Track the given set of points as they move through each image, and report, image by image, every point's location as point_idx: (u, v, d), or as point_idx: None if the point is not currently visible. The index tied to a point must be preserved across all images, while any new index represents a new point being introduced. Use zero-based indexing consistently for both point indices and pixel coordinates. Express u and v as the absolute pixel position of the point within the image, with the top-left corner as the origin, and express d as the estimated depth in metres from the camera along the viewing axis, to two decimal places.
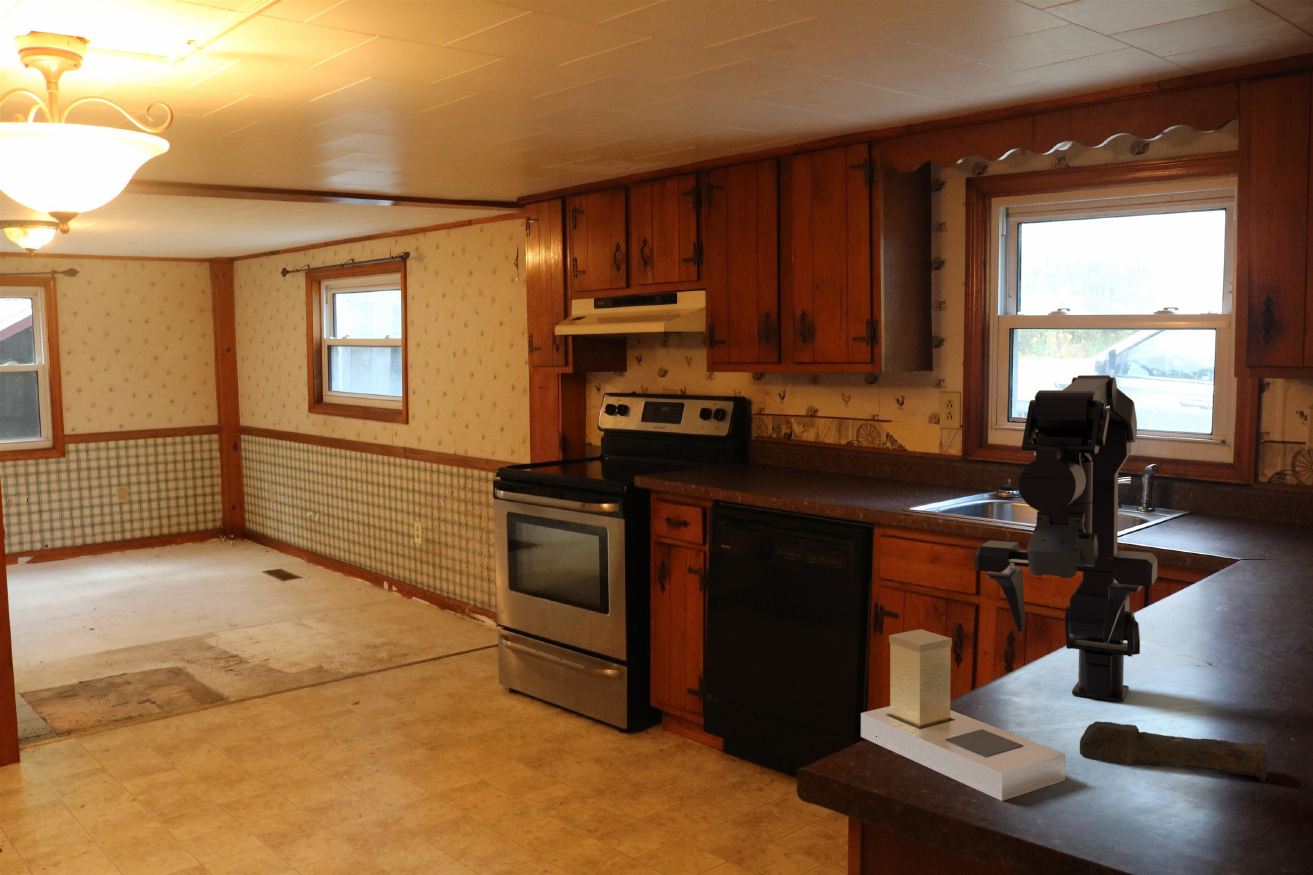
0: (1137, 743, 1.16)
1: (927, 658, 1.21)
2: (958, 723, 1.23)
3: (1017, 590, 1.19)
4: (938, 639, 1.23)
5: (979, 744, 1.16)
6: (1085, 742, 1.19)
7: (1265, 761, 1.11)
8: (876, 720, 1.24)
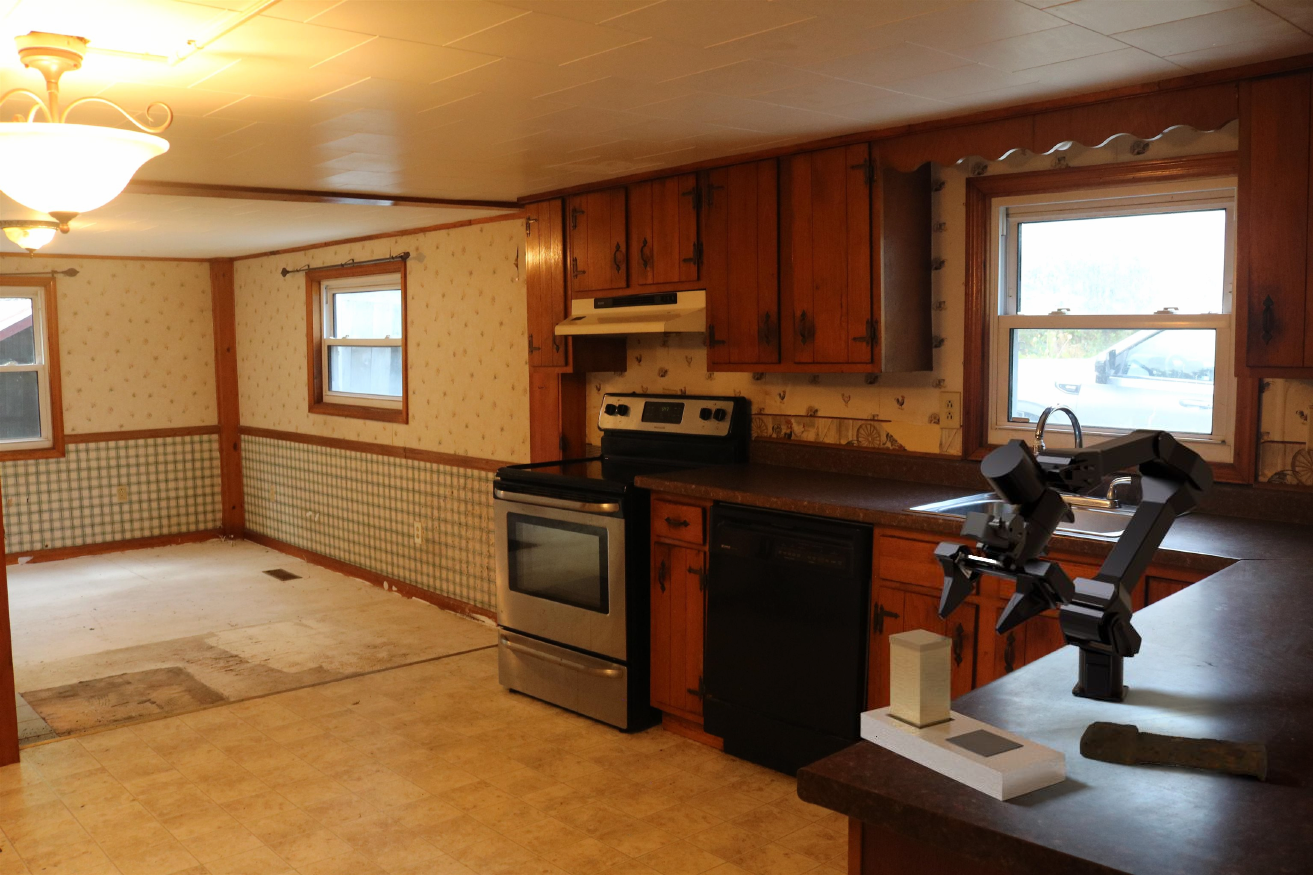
0: (1137, 743, 1.16)
1: (927, 658, 1.21)
2: (958, 723, 1.23)
3: (955, 582, 1.33)
4: (938, 639, 1.23)
5: (979, 744, 1.16)
6: (1085, 742, 1.19)
7: (1265, 760, 1.11)
8: (876, 720, 1.24)
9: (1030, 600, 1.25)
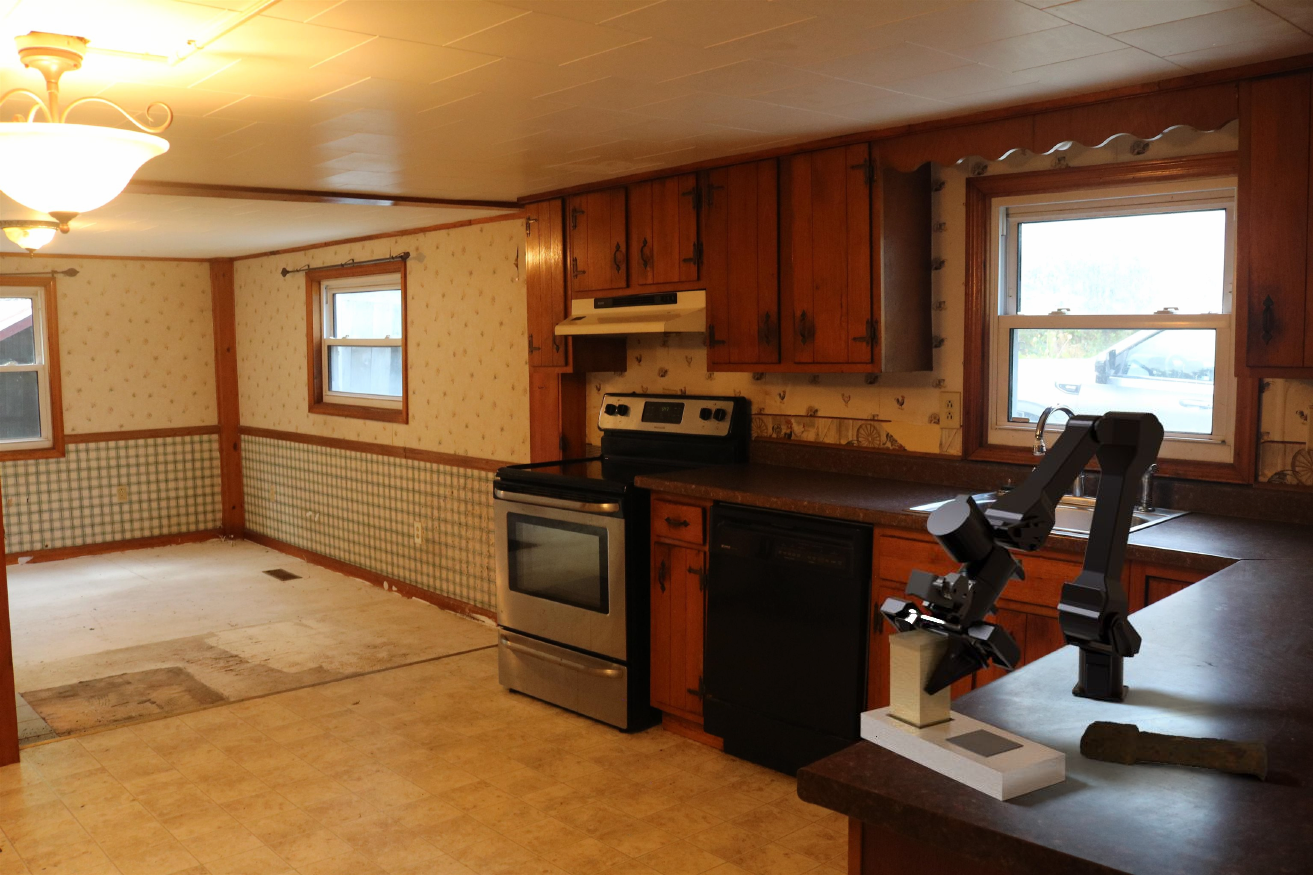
0: (1137, 743, 1.16)
1: (927, 657, 1.21)
2: (958, 723, 1.23)
3: None
4: (938, 639, 1.23)
5: (979, 744, 1.16)
6: (1085, 742, 1.19)
7: (1265, 759, 1.12)
8: (876, 720, 1.24)
9: (961, 660, 1.22)
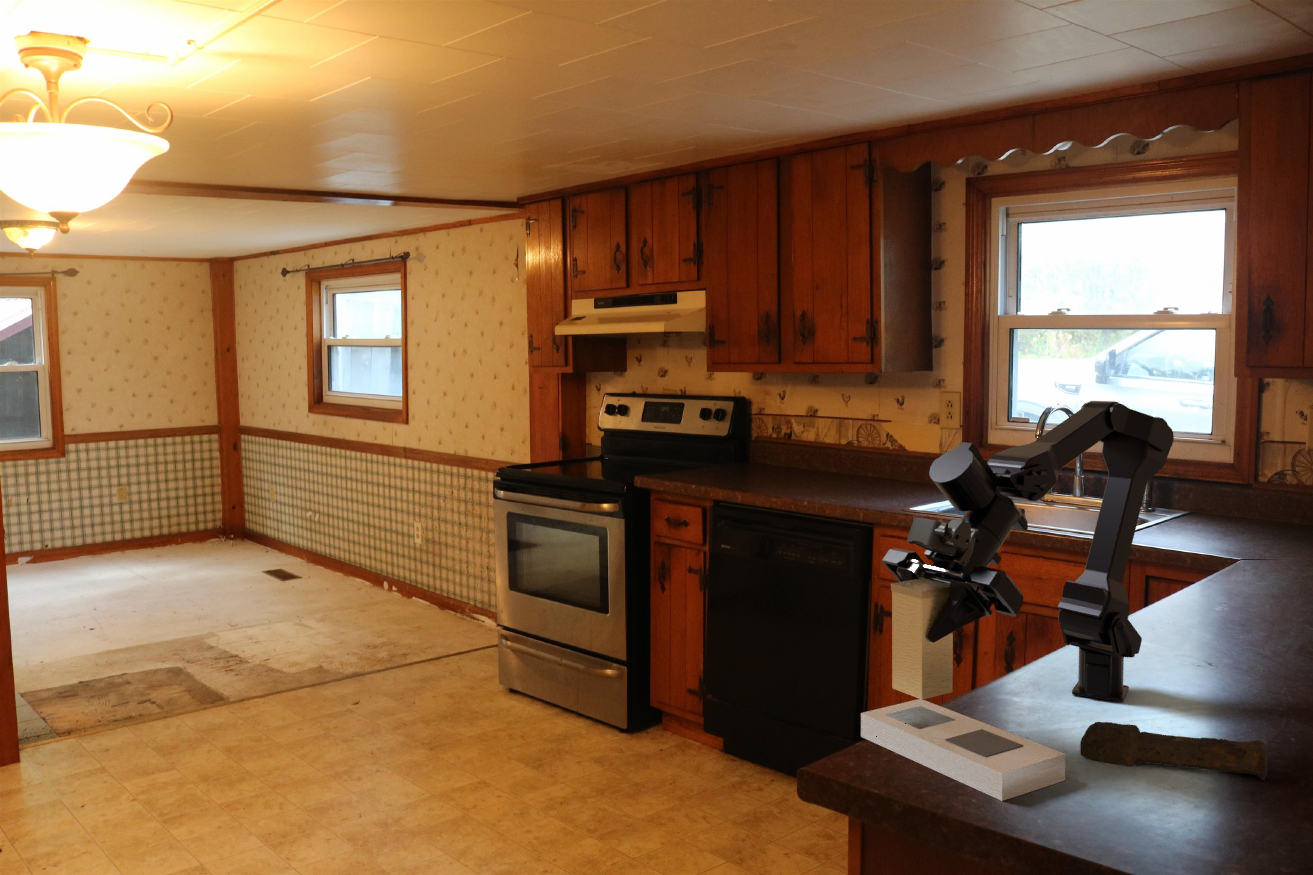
0: (1138, 743, 1.16)
1: (929, 604, 1.21)
2: (958, 723, 1.23)
3: None
4: (940, 586, 1.22)
5: (979, 744, 1.16)
6: (1086, 743, 1.19)
7: (1266, 759, 1.12)
8: (876, 720, 1.24)
9: (964, 607, 1.22)
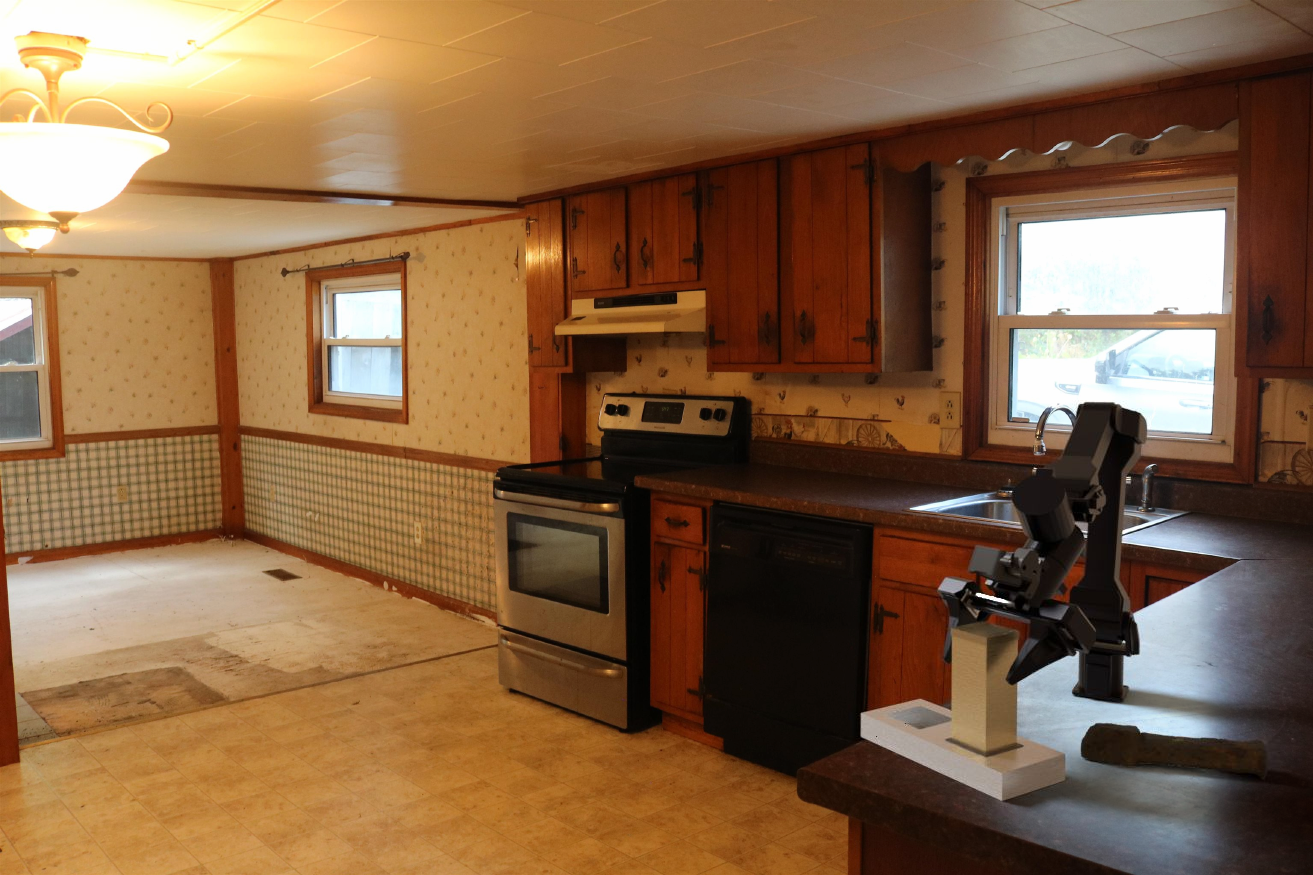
0: (1138, 744, 1.16)
1: (994, 651, 1.13)
2: None
3: (962, 623, 1.20)
4: (1005, 632, 1.14)
5: None
6: (1087, 744, 1.18)
7: (1266, 758, 1.12)
8: (876, 720, 1.24)
9: (1045, 646, 1.12)
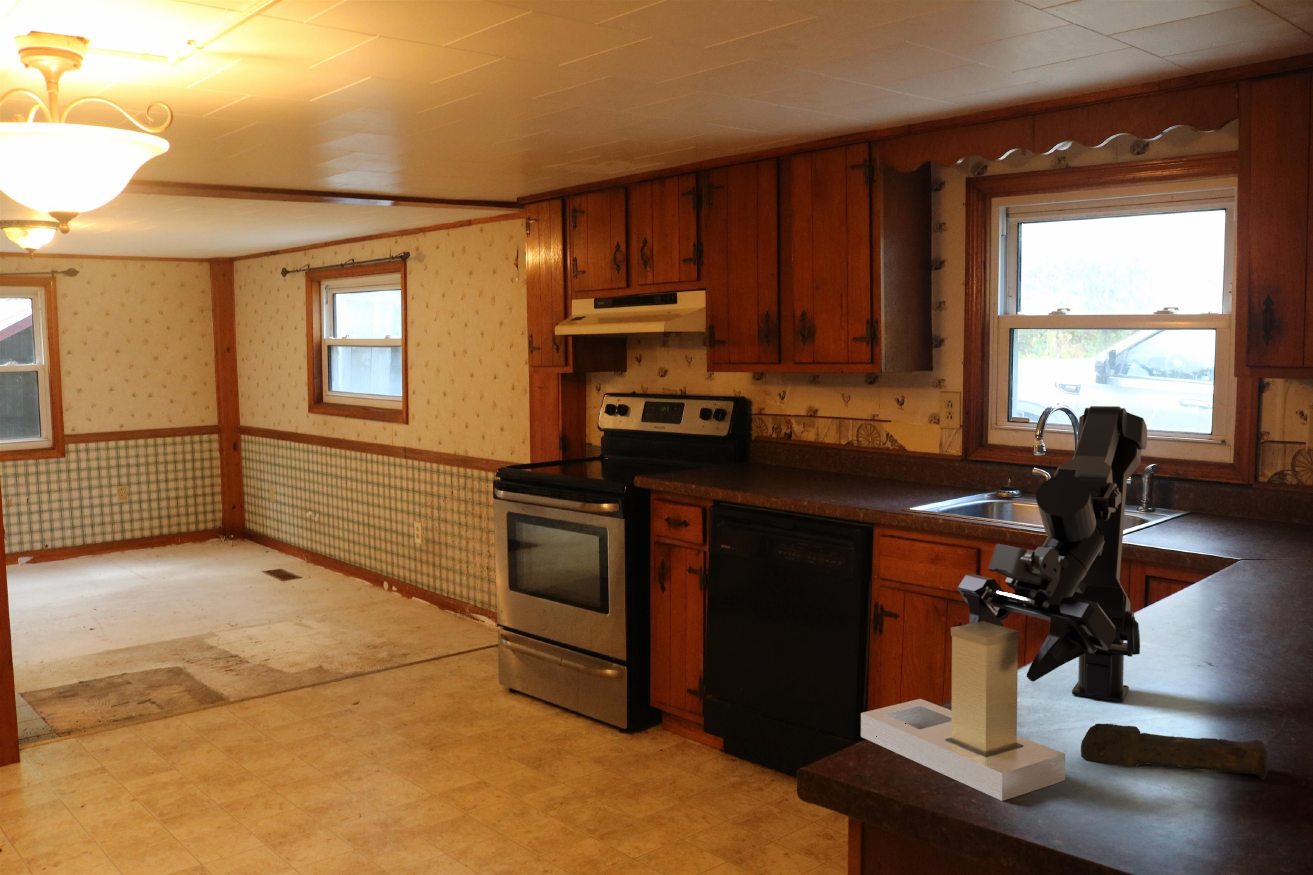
0: (1139, 745, 1.16)
1: (994, 651, 1.13)
2: None
3: (982, 620, 1.22)
4: (1005, 632, 1.14)
5: None
6: (1087, 745, 1.18)
7: (1266, 759, 1.12)
8: (876, 720, 1.24)
9: (1065, 643, 1.14)
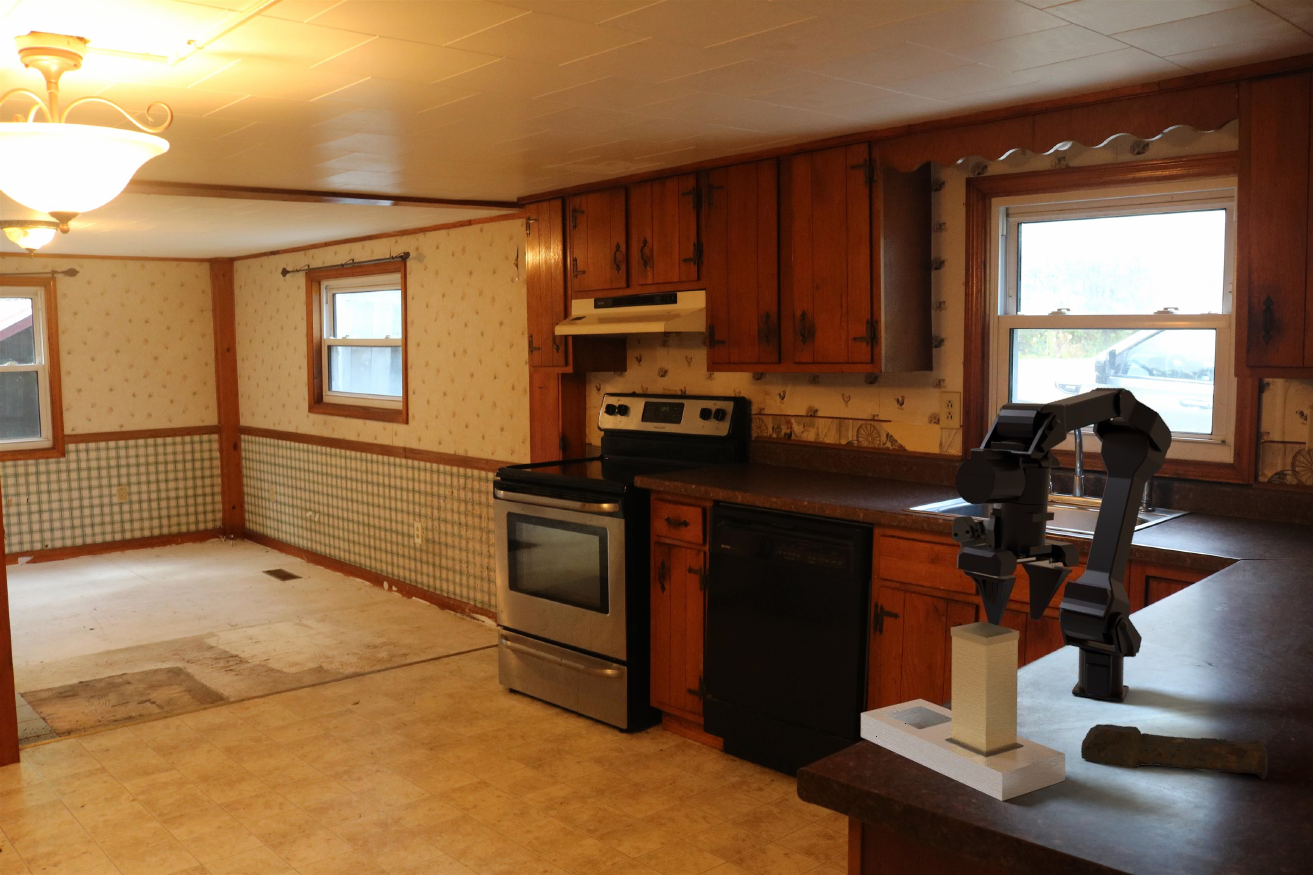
0: (1139, 745, 1.16)
1: (994, 651, 1.13)
2: None
3: (1034, 580, 1.34)
4: (1005, 632, 1.14)
5: None
6: (1087, 746, 1.18)
7: (1266, 759, 1.12)
8: (876, 720, 1.24)
9: (994, 584, 1.26)
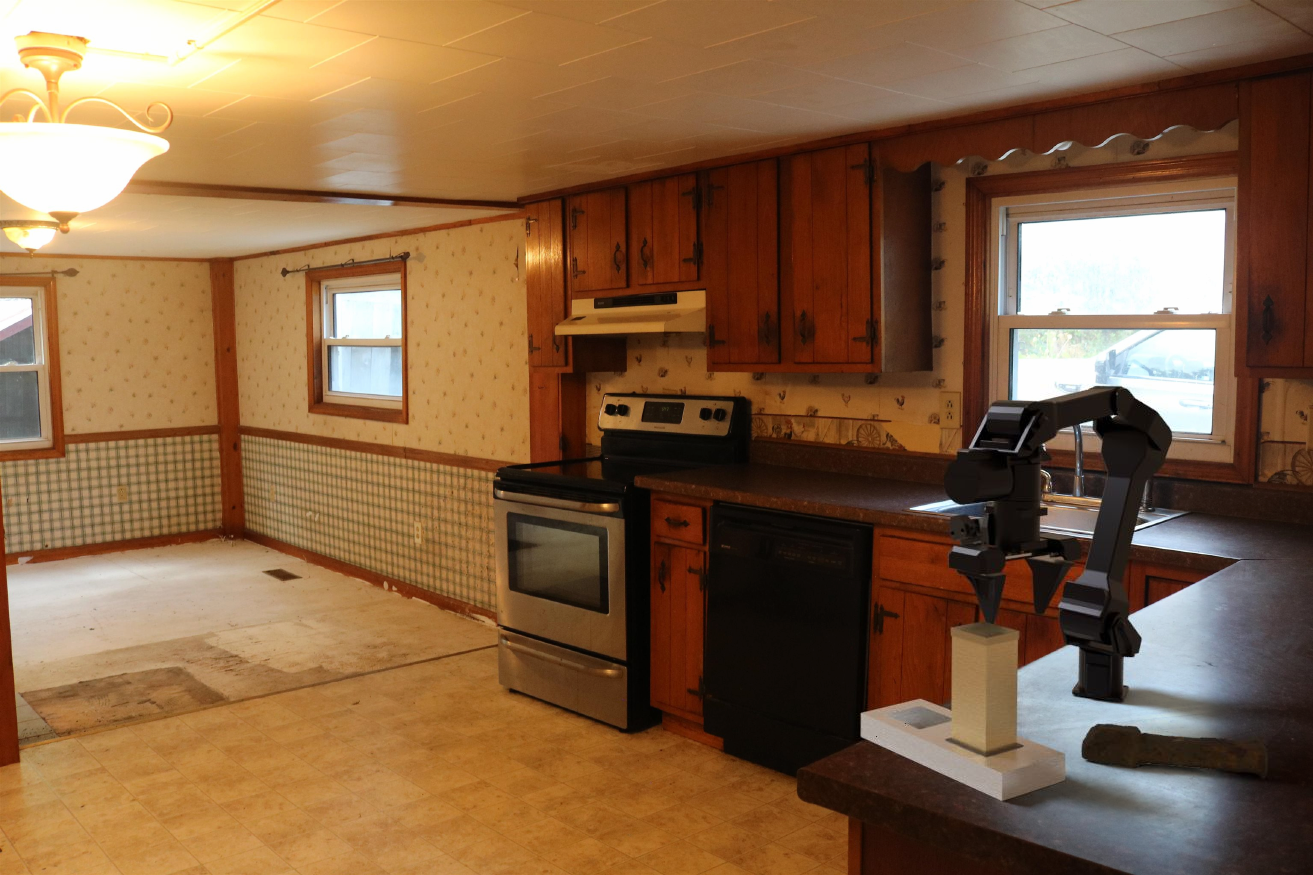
0: (1140, 745, 1.16)
1: (994, 651, 1.13)
2: None
3: (1036, 575, 1.34)
4: (1005, 632, 1.14)
5: None
6: (1088, 745, 1.18)
7: (1266, 758, 1.12)
8: (876, 720, 1.24)
9: (987, 582, 1.28)
